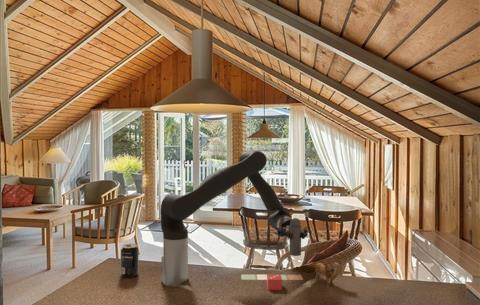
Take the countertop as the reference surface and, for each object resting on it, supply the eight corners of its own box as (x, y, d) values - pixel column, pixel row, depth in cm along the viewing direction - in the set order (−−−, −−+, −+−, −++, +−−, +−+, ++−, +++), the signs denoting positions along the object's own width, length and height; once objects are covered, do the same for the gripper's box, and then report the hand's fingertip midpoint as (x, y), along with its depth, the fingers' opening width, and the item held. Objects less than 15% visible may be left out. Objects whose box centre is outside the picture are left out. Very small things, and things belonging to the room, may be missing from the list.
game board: (235, 286, 135) (235, 282, 135) (235, 275, 147) (235, 271, 147) (311, 286, 135) (311, 283, 135) (305, 275, 147) (305, 272, 147)
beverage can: (131, 271, 150) (131, 242, 150) (141, 274, 146) (142, 245, 146) (116, 276, 144) (117, 246, 144) (127, 279, 140) (127, 248, 140)
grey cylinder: (287, 254, 140) (287, 218, 140) (292, 251, 144) (293, 216, 143) (297, 256, 138) (298, 219, 137) (302, 253, 141) (303, 217, 141)
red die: (267, 293, 128) (268, 279, 128) (266, 288, 133) (266, 274, 133) (282, 293, 128) (282, 279, 128) (280, 288, 133) (280, 274, 133)
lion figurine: (344, 287, 135) (345, 263, 135) (335, 290, 132) (335, 265, 132) (315, 275, 147) (315, 253, 147) (305, 278, 144) (306, 255, 144)
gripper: (270, 217, 154) (278, 226, 137) (303, 217, 155) (315, 226, 138) (270, 235, 154) (278, 246, 137) (303, 234, 155) (315, 245, 138)
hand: (297, 236), depth 138 cm, fingers closed on grey cylinder, 4 cm apart
